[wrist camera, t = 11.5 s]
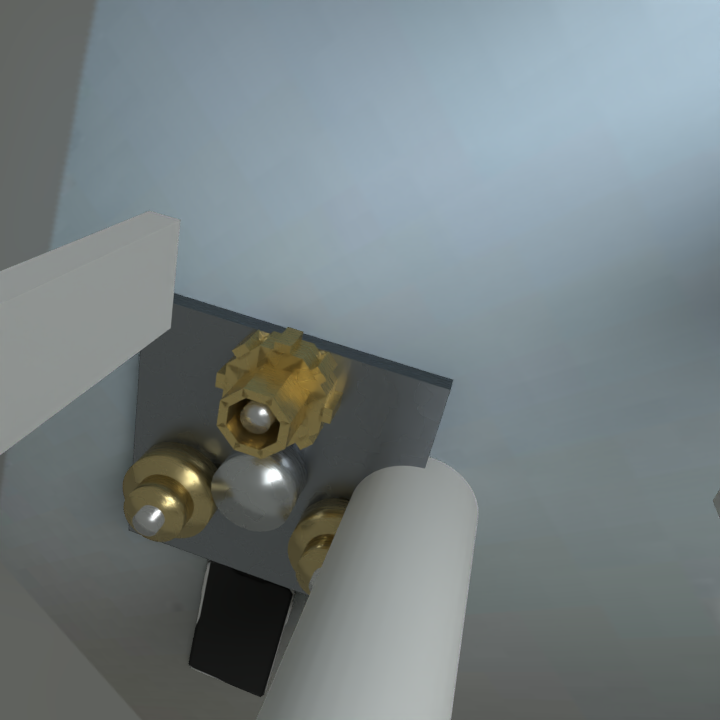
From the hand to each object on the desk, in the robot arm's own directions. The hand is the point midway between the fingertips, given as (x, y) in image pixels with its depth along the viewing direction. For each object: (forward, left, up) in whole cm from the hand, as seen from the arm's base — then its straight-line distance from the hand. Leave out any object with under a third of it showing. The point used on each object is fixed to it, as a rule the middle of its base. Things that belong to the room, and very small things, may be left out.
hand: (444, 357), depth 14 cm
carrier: (+25, -10, -27) cm, 38 cm away
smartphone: (+44, -10, -27) cm, 53 cm away
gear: (+17, -10, -25) cm, 32 cm away
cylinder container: (+25, +1, -27) cm, 37 cm away
